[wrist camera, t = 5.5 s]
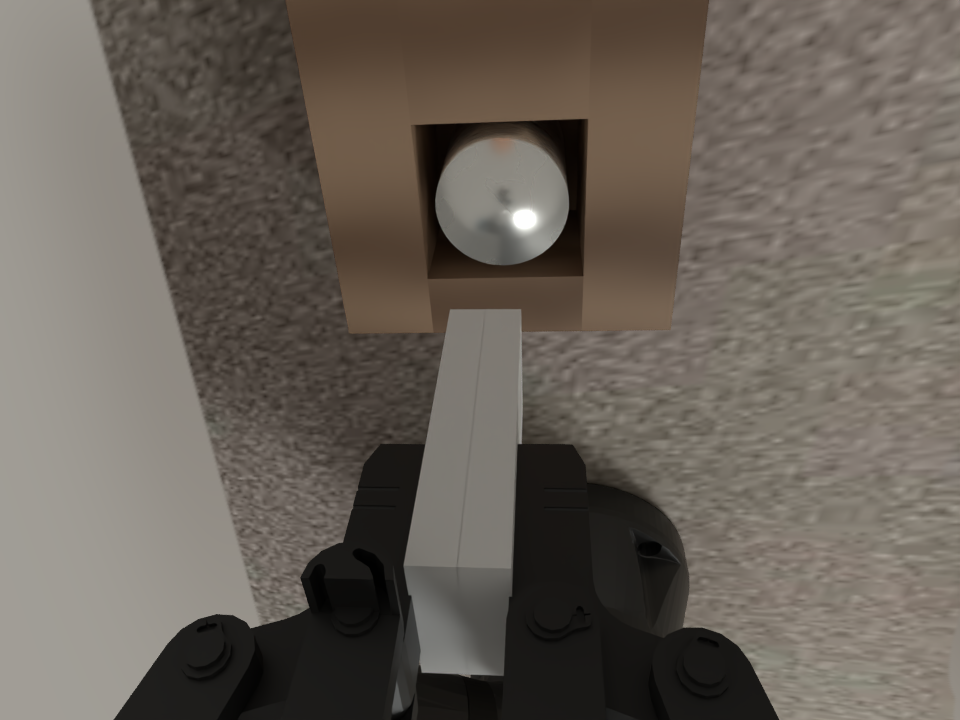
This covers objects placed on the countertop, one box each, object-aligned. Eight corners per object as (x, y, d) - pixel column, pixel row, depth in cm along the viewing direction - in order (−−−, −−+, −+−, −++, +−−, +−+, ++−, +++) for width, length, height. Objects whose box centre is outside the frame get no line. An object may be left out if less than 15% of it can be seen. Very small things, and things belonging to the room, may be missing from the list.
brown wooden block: (648, 248, 35) (670, 329, 29) (378, 253, 36) (349, 333, 30) (711, -463, 21) (774, -567, 16) (276, -420, 22) (188, -503, 17)
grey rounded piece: (563, 198, 32) (567, 263, 28) (455, 201, 33) (441, 266, 28) (564, 87, 30) (569, 138, 25) (446, 91, 30) (429, 142, 25)
